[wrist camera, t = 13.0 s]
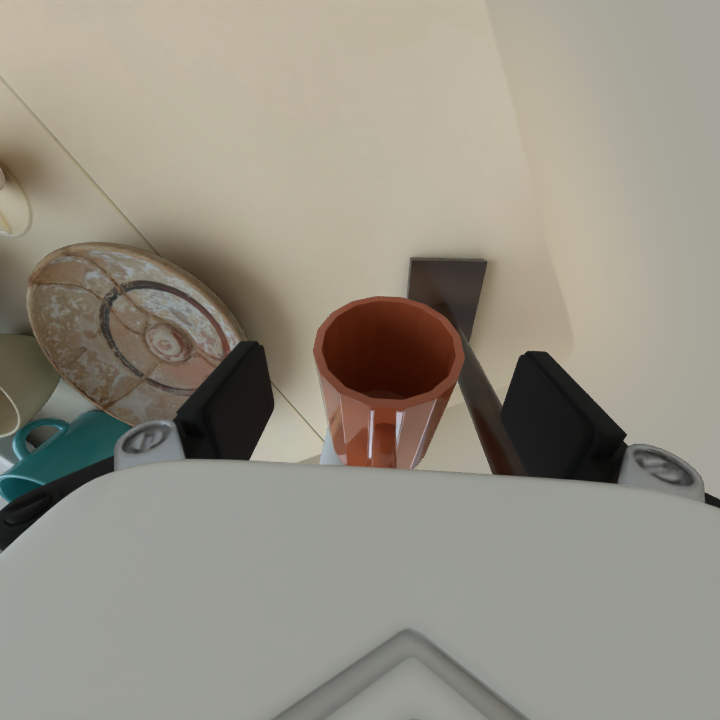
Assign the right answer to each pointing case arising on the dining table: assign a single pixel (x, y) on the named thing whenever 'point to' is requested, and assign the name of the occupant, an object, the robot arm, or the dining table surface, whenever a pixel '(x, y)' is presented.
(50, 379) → the flower pot
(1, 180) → the egg
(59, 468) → the cup
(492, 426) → the bent pole stand
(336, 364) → the mug
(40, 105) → the dining table surface
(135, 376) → the ceramic bowl
